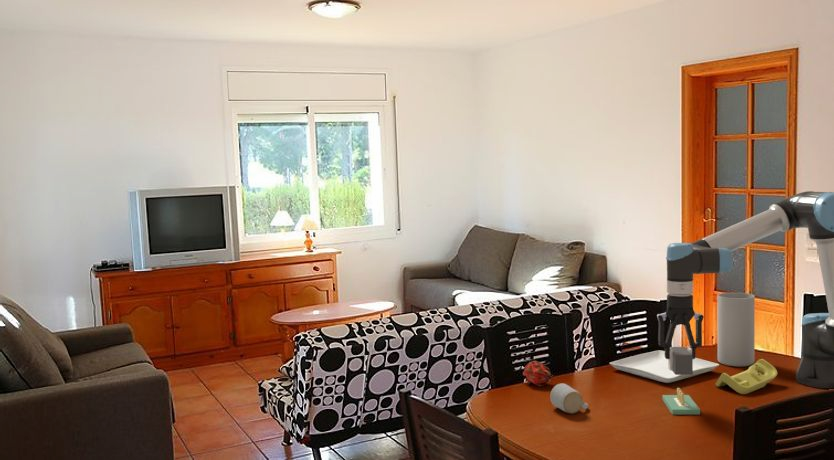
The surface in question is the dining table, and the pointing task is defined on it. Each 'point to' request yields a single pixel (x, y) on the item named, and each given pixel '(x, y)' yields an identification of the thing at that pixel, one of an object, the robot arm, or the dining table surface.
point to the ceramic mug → (567, 399)
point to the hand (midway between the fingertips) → (680, 369)
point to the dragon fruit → (537, 373)
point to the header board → (680, 403)
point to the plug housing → (682, 361)
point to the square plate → (659, 366)
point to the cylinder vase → (736, 328)
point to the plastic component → (749, 378)
